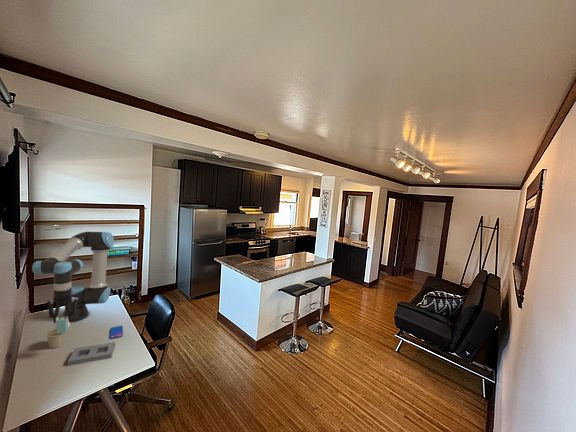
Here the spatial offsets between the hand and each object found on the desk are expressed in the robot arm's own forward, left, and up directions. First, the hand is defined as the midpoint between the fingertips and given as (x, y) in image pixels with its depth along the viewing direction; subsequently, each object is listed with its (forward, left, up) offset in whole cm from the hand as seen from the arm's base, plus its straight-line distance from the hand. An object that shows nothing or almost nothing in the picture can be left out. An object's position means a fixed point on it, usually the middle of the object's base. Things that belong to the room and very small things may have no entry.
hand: (62, 327), depth 143 cm
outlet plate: (+7, +16, -17) cm, 24 cm away
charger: (0, 0, -3) cm, 3 cm away
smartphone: (-15, +24, -17) cm, 33 cm away
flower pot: (-10, -6, -17) cm, 20 cm away
